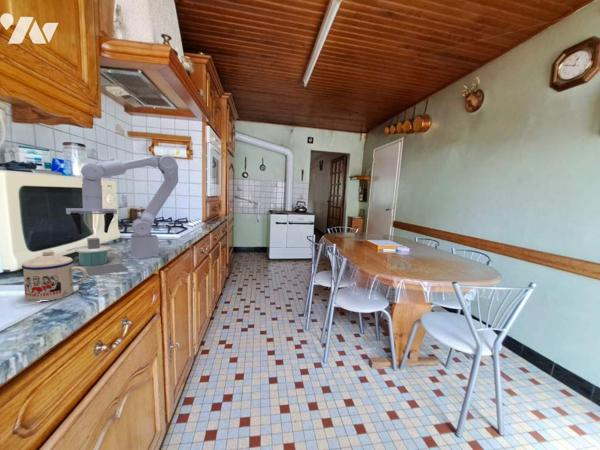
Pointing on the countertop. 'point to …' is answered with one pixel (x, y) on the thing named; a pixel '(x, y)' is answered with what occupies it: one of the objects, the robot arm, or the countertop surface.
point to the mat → (106, 269)
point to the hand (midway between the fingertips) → (93, 233)
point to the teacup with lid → (49, 277)
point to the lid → (93, 246)
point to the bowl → (92, 258)
